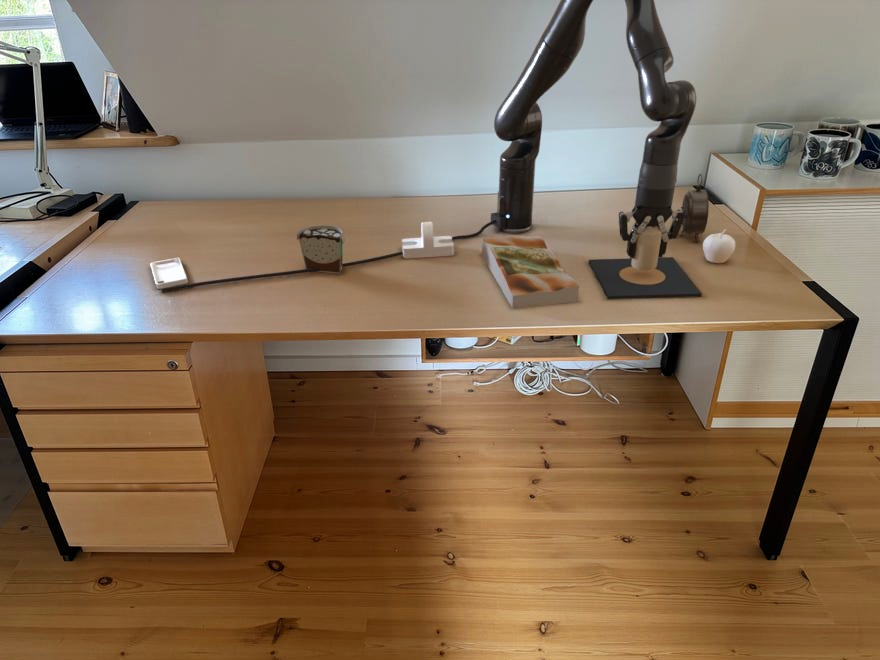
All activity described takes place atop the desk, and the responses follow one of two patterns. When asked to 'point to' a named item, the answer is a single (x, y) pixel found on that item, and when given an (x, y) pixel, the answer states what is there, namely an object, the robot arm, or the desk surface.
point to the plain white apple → (718, 247)
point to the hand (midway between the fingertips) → (645, 256)
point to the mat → (643, 279)
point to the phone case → (169, 273)
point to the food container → (322, 248)
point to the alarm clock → (695, 211)
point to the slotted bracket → (427, 244)
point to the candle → (647, 249)
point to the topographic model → (528, 271)
